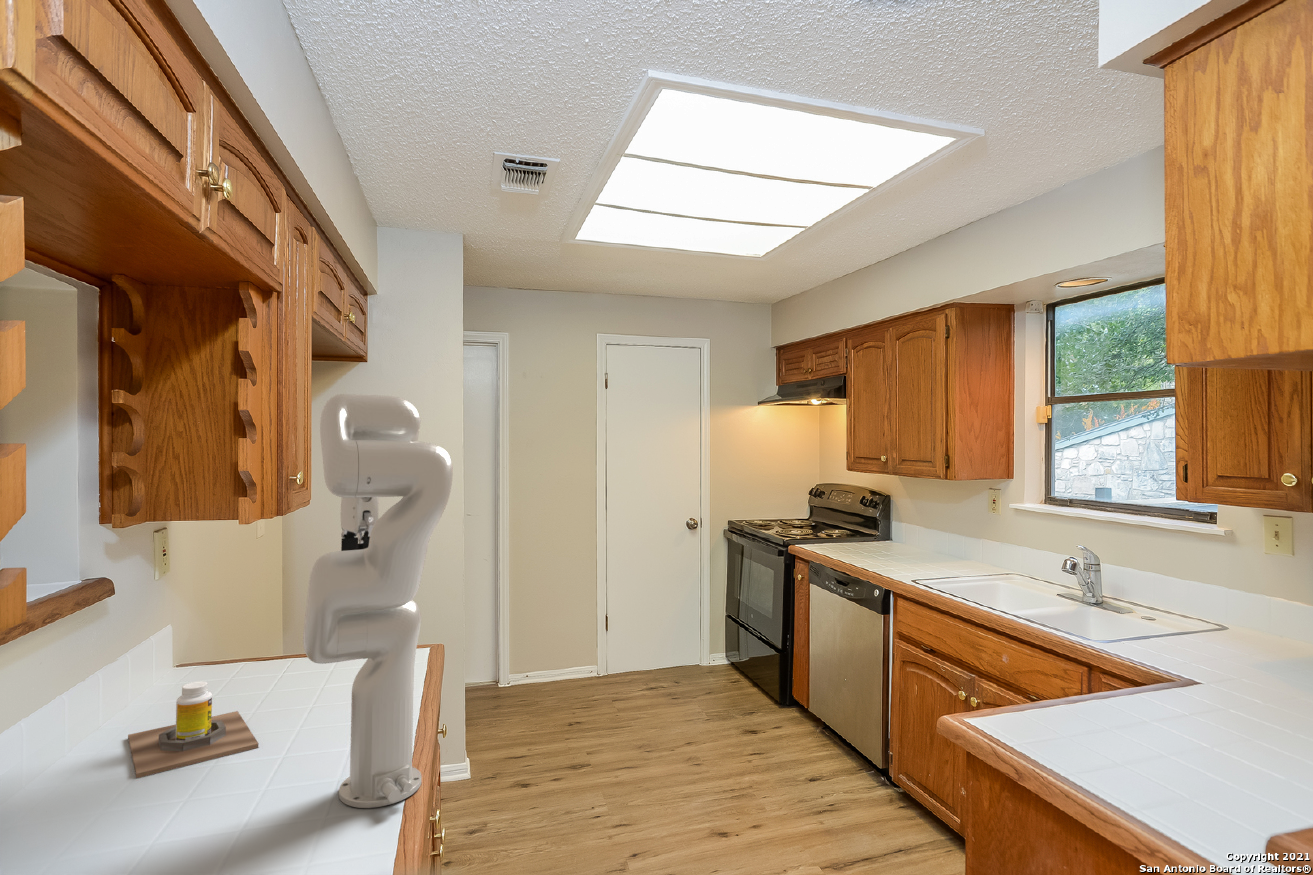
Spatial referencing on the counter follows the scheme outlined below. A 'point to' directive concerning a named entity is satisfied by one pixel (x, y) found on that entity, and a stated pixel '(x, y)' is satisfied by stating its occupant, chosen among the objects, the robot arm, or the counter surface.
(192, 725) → the supplement bottle
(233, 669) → the counter surface
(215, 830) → the counter surface
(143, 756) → the ring board
